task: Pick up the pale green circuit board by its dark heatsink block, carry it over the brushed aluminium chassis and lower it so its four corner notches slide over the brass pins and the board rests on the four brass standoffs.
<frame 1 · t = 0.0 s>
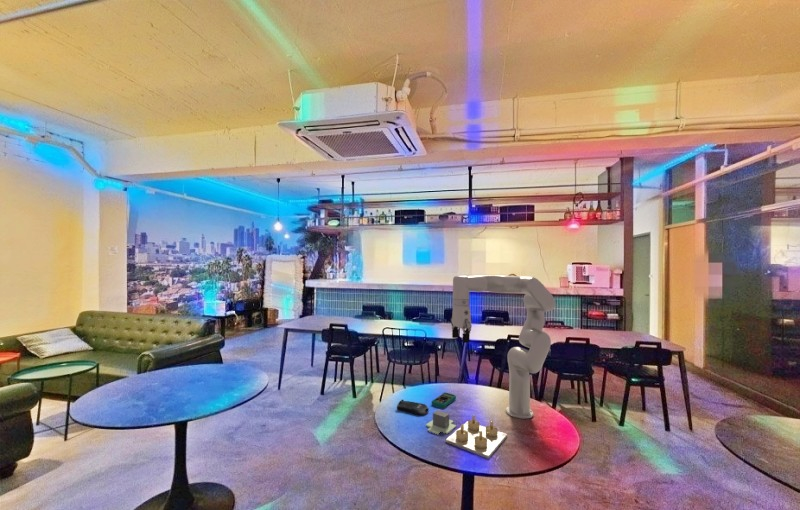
hand: (460, 340, 151), 37 cm above the table, tool pointing down, fingers open, 9 cm apart
chassis: (477, 439, 135), on the table
digital multimeter: (444, 403, 171), on the table
board: (440, 426, 145), on the table
electronic device: (413, 411, 161), on the table
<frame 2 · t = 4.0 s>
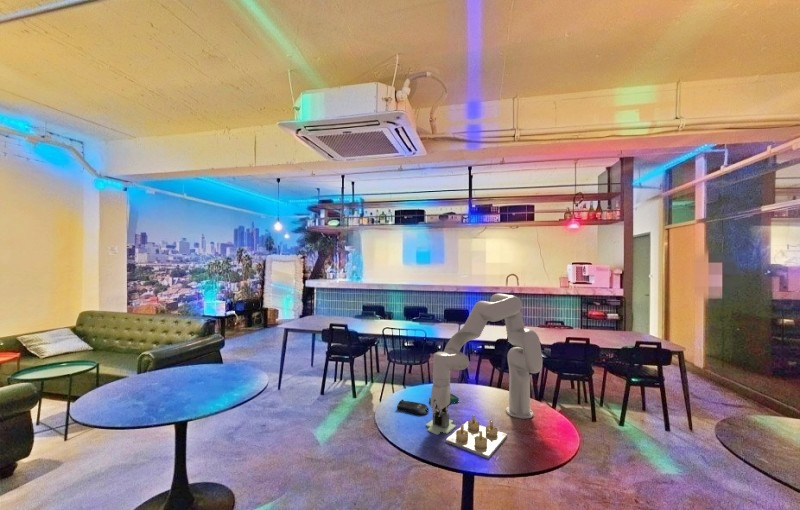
hand: (440, 422, 145), 2 cm above the table, tool pointing down, fingers closed on board, 4 cm apart
board: (440, 426, 145), on the table, touching gripper
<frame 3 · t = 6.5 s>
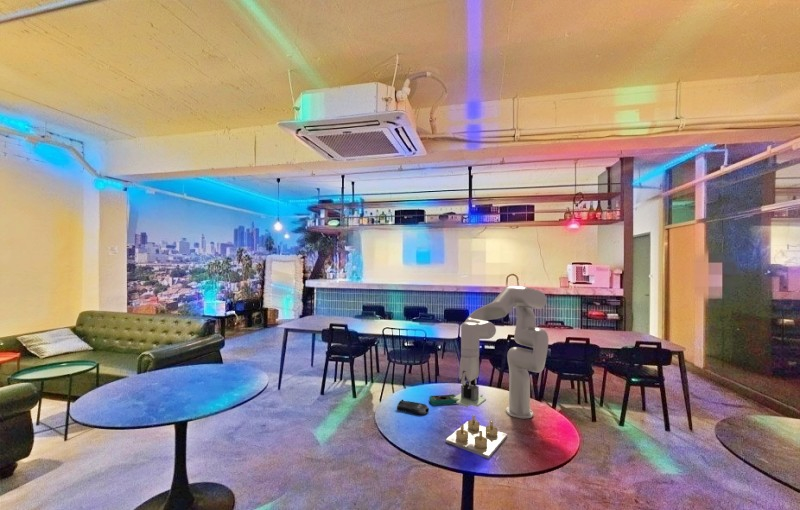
hand: (469, 395, 138), 17 cm above the table, tool pointing down, fingers closed on board, 4 cm apart
board: (469, 399, 137), point 15 cm above the table, touching gripper
when the fingers open (7 cm above the table, at t = 9.5 s): board drops 1 cm, resting on chassis.
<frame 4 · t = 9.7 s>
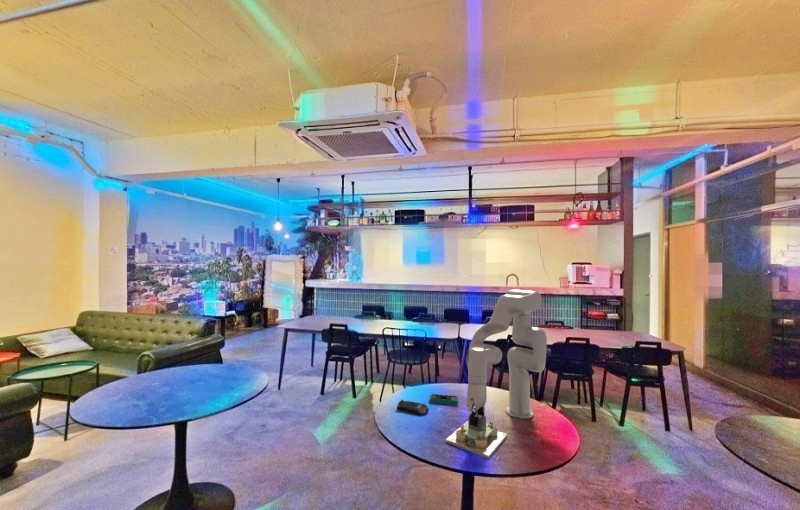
hand: (477, 422, 135), 7 cm above the table, tool pointing down, fingers open, 5 cm apart
board: (477, 430, 135), point 4 cm above the table, touching chassis
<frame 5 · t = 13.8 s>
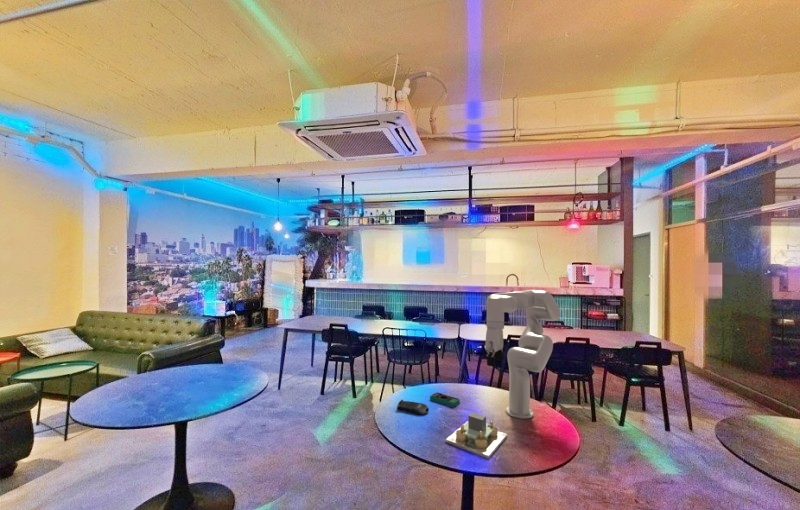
hand: (494, 363, 146), 28 cm above the table, tool pointing down, fingers open, 9 cm apart
at the end: board 0.1 cm off-centre on the chassis, point 3.7 cm above the chassis's base; board tilted 0°; the gripper is holding nothing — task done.
